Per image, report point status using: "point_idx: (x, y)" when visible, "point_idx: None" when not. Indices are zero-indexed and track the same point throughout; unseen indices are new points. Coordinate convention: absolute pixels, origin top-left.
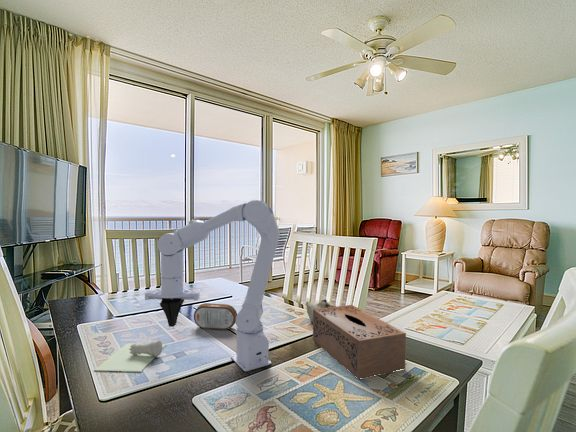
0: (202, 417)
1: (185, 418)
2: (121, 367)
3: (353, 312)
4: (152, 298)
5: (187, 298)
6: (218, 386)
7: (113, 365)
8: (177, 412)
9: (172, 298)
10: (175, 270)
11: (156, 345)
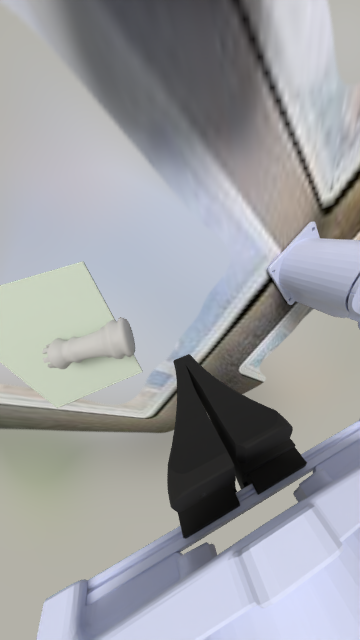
0: (254, 380)
1: (242, 387)
2: (97, 382)
3: None
4: (115, 576)
5: (330, 452)
6: (259, 343)
7: (72, 386)
8: (233, 387)
9: (251, 499)
10: None
11: (133, 351)
